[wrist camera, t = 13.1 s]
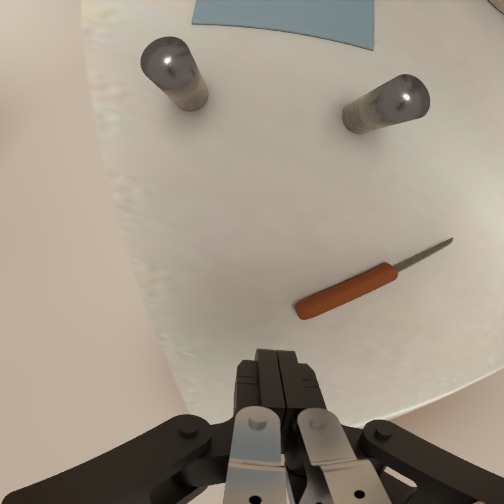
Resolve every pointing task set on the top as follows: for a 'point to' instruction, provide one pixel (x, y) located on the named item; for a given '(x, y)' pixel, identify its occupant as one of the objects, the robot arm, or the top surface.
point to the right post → (388, 105)
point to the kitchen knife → (358, 285)
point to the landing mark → (295, 17)
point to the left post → (175, 72)
